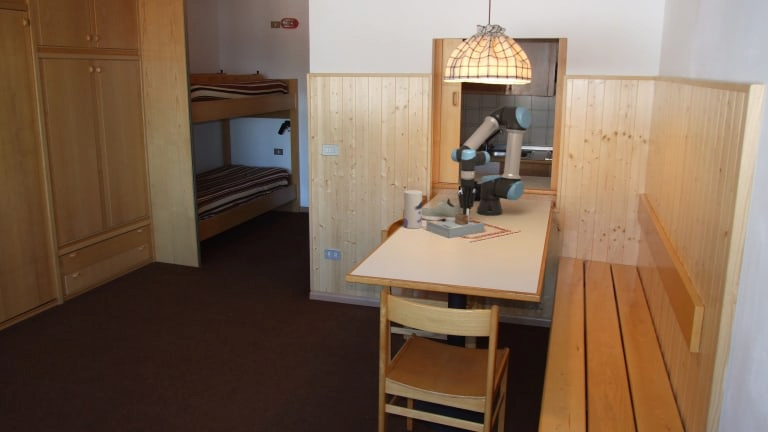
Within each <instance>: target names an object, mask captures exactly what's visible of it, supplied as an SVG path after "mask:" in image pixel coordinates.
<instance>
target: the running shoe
mask: <svg viewBox="0 0 768 432" xmlns="http://www.w3.org/2000/svg"><path fill="white" fill-rule="evenodd" d="M462 213H463V208H460V203H459V202H458V203H457V204H456V205H455V204H453V203H452V202H451V200H450V198H448V197H447V198H445V199H444V200H443V201H442V200H441V201H440V202H439V203H438V204H435V205H433V206H432V207H422V220H424V221H425V220H426V221H430V222H440V221H443V222H446V221H452V220H455V215H456V214H462Z"/></svg>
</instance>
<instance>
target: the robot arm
mask: <svg viewBox="0 0 768 432" xmlns="http://www.w3.org/2000/svg"><path fill="white" fill-rule="evenodd" d="M532 119H533V118H532V114H531V111H530V110H529V109H528V108H527V107H523V106H510V105H509V106H508V105H503V106H499V107H498V108H495V109H494V110H493V111H491V112H490V113H489V114H487V115H486V117H484V121H483V123H482V124H480V126H479V127H478V128H477V129H476V130H475V132H474V133H473V134H471V136H470V137H469V138H468V139H467V140H466V141H465V142H464V143H463V144H462V145H461V147H459V148H454V149H453V150H452V151H451V153H450V158H451V160H452V161H453V162H456V163H459V164H460V166H461V168H460V186H461V187H460V189H461V190H460V191H459V190H458V191H456V194H457V196H458V203H460V208H463V214H464V215H468V222H470V221H469V220H470V214H471V211H470V210H471V209H472V208H473V207H474V203H475V201H474V200H475V195H476V193H477V190H475V189H474V181H476V180H475V177H476V167H479V166H486V165H488V164H489V163H490V161H491V155H490V153H489V152H487V151H486V150H485V151H484V150H481V151H478V149H479V148H480V147H481V145H482V144H483V143H484V142H485V140H487V139H488V138H489V136H490V135H492V133H493V132H494V131H497V130H498V129H499V128H500V127H505V131H507V140H506V141H507V142H506V152H505V160H504V170H503V174H502V175H500V174H490V175H484V176H482V177H481V180H480V181H481V182H480V184H481V199H480V201H479V203H478V207H477V208H476V213H477V214H479V215H484V216H500V215H502V214H503V208H502V204H501V201H500V200H501V199H505V200H509V201H518V200H519V199H520V198H521V197H522V195H523V194H524V191H525V184H524V182H523V181H522V177H521V176H520V165H521V157H522V156H521V155H522V147H523V146H522V145H523V138H524V134H525V133H526V132H527V129H528V128H530V126H531V124H532V121H533V120H532Z"/></svg>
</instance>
